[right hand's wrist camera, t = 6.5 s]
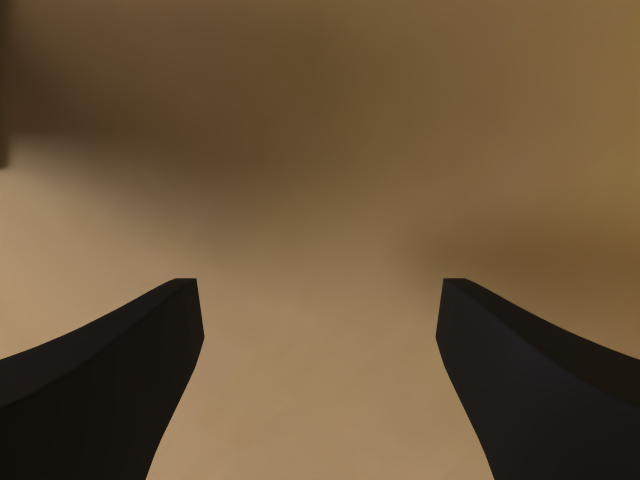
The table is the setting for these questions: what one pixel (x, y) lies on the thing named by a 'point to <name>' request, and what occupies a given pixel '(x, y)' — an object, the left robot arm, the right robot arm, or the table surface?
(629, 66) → the table surface
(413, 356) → the table surface
